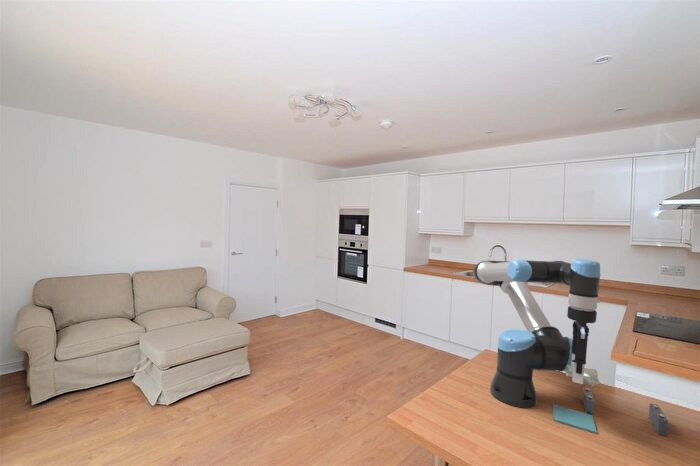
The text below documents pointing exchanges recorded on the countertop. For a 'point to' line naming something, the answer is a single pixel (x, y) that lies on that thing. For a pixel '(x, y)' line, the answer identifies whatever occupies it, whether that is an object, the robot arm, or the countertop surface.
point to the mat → (574, 418)
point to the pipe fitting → (589, 375)
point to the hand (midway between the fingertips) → (576, 378)
